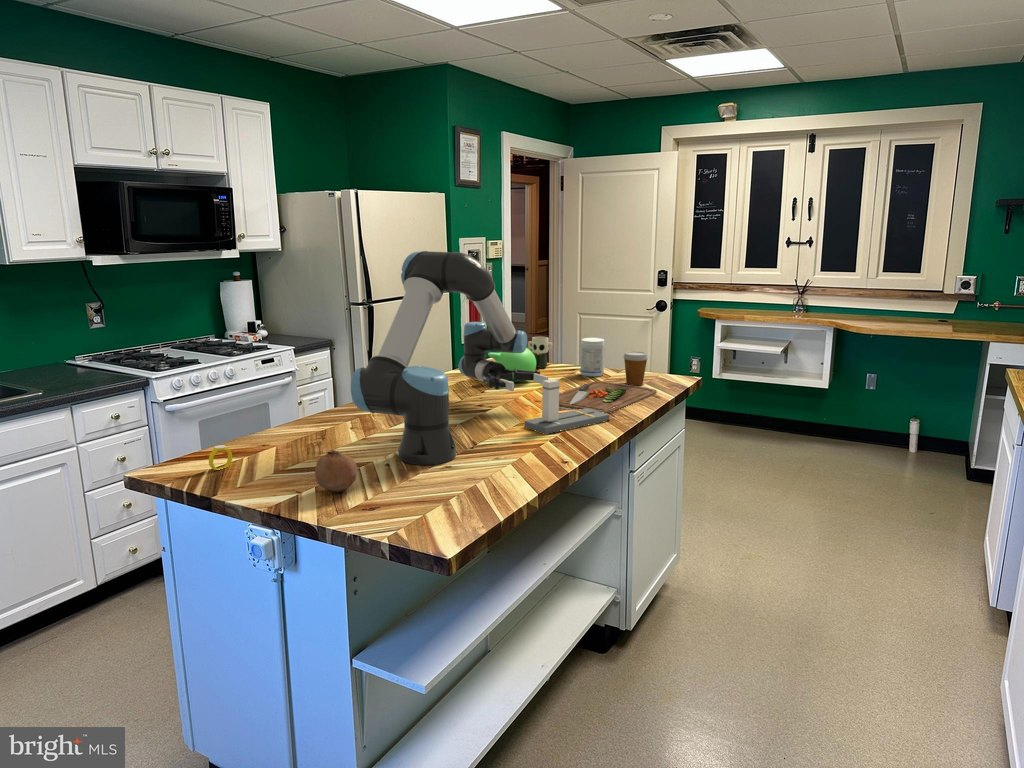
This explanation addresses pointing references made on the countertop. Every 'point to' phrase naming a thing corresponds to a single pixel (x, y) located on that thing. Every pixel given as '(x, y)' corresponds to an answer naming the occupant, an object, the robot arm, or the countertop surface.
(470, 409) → the countertop surface
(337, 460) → the onion
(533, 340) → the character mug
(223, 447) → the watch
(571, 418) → the fader console
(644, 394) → the chopping board
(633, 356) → the disposable coffee cup
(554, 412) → the fader knob
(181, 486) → the countertop surface
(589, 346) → the supplement tub
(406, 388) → the robot arm
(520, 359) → the green rounded body
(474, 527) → the countertop surface
